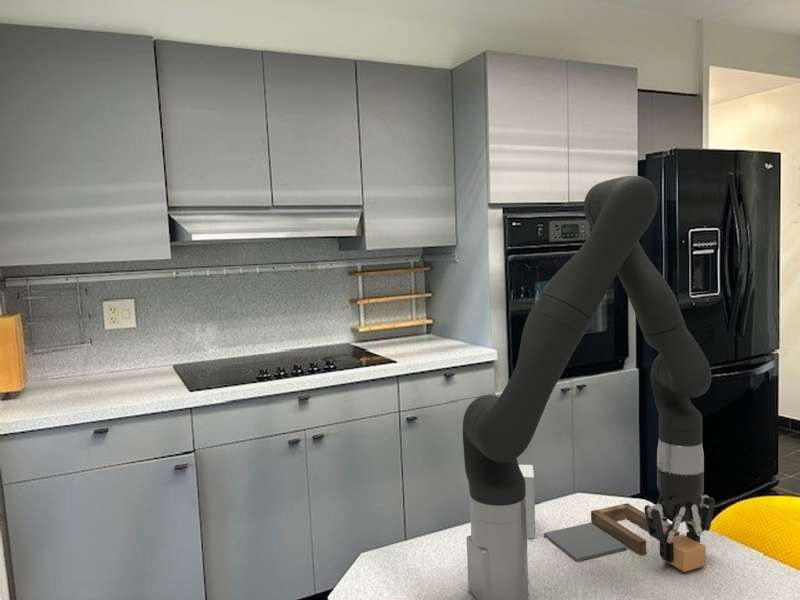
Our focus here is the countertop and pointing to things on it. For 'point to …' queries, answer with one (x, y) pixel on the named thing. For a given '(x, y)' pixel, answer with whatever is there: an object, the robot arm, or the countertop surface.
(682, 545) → the block
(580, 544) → the mat
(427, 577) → the countertop surface
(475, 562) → the robot arm
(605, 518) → the cubby
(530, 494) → the supplement box
